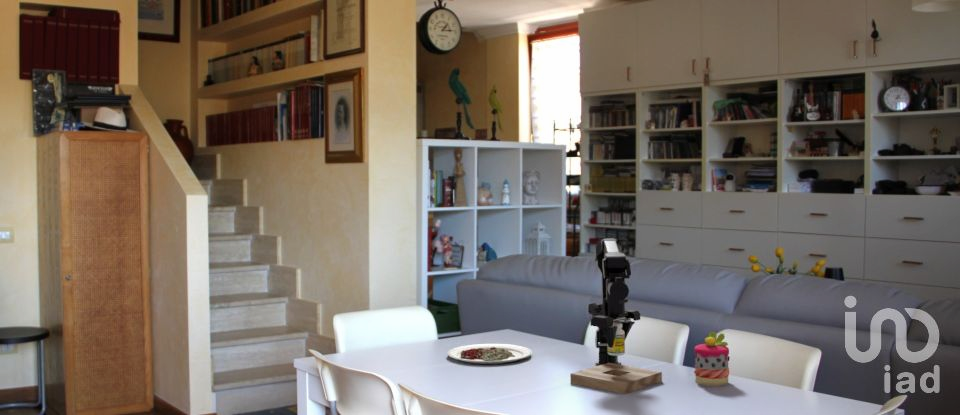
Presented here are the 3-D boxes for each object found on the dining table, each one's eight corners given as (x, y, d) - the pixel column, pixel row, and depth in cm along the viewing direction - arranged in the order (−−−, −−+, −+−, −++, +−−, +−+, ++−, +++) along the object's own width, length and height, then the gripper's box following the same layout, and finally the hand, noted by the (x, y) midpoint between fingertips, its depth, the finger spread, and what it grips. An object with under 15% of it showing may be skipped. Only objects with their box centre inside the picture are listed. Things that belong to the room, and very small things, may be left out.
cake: (728, 387, 261) (728, 337, 260) (692, 385, 264) (691, 336, 264) (730, 379, 270) (730, 331, 270) (696, 377, 274) (695, 330, 273)
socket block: (609, 371, 283) (608, 362, 283) (661, 381, 269) (661, 371, 269) (570, 383, 269) (570, 373, 269) (624, 393, 255) (624, 383, 255)
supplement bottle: (616, 351, 273) (616, 321, 272) (628, 354, 268) (628, 323, 268) (603, 353, 270) (603, 323, 269) (615, 356, 265) (615, 325, 265)
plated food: (549, 358, 306) (549, 349, 306) (478, 370, 289) (478, 360, 289) (499, 345, 330) (499, 336, 330) (431, 355, 314) (431, 346, 314)
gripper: (611, 290, 280) (612, 338, 281) (576, 296, 267) (576, 347, 268) (641, 293, 273) (641, 342, 273) (605, 300, 259) (606, 352, 260)
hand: (615, 345), depth 269 cm, fingers closed on supplement bottle, 5 cm apart
